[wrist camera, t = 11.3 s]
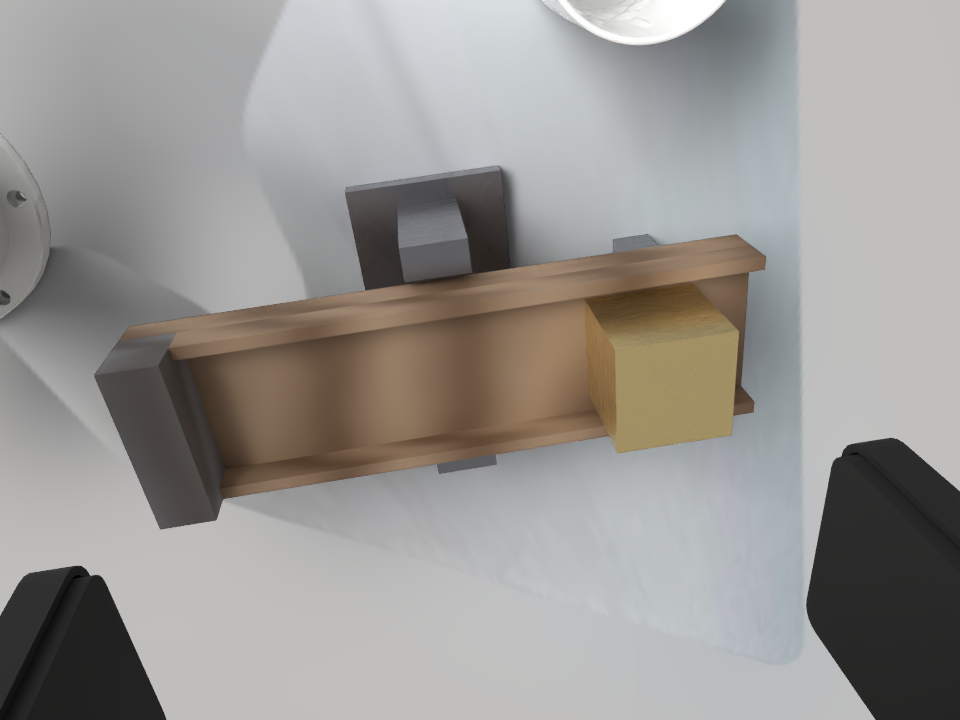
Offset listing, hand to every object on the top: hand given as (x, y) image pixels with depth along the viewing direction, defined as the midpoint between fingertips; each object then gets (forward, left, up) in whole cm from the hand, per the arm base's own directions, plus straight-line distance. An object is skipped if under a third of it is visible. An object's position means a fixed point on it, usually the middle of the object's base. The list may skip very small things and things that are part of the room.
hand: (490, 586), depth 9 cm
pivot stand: (0, -9, -31) cm, 32 cm away
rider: (+9, -9, -23) cm, 26 cm away
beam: (0, -9, -24) cm, 26 cm away
